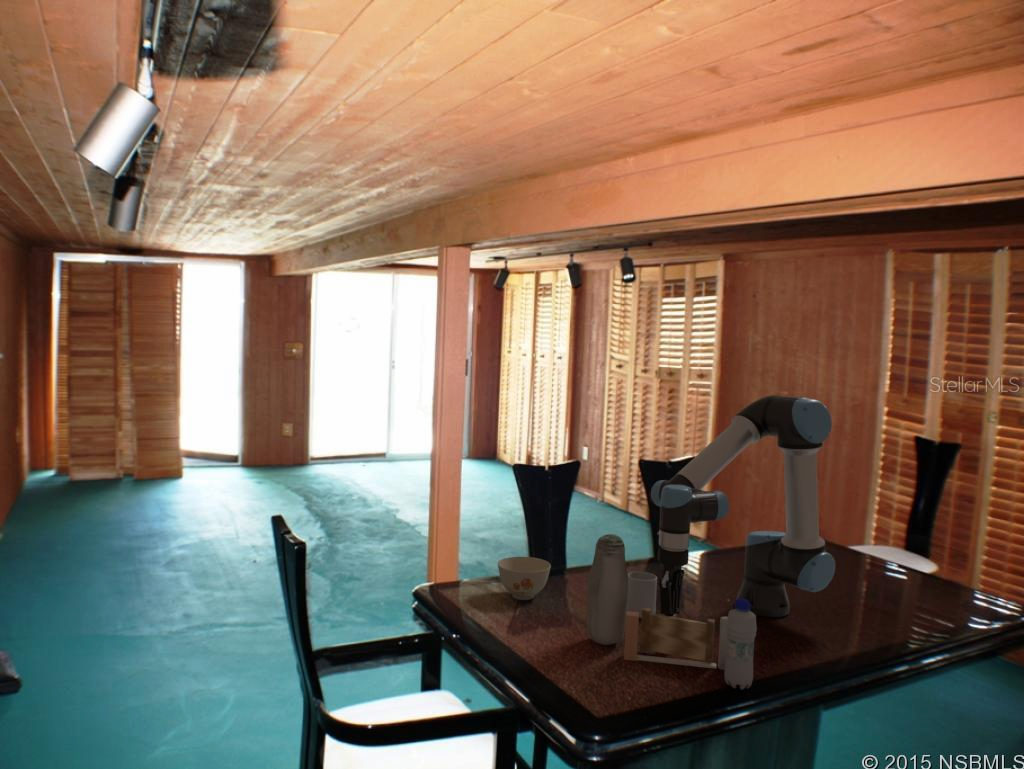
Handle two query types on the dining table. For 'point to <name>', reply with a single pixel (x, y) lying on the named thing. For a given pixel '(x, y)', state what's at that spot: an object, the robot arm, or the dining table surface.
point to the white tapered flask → (607, 591)
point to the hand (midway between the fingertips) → (668, 639)
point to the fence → (631, 654)
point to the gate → (677, 636)
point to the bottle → (740, 645)
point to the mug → (641, 592)
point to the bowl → (523, 576)
